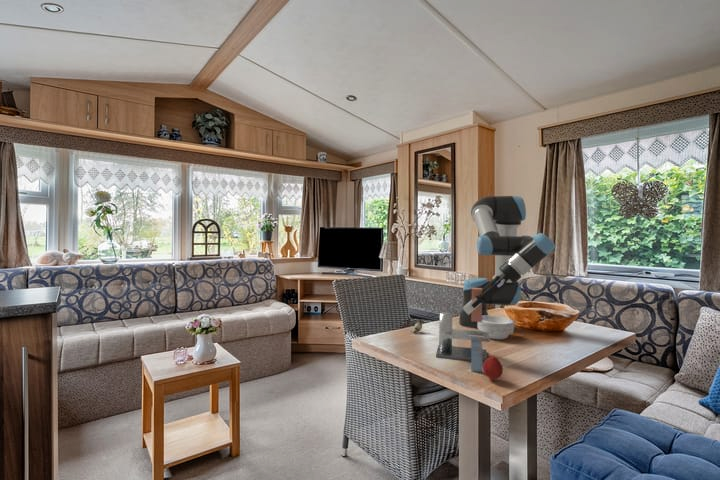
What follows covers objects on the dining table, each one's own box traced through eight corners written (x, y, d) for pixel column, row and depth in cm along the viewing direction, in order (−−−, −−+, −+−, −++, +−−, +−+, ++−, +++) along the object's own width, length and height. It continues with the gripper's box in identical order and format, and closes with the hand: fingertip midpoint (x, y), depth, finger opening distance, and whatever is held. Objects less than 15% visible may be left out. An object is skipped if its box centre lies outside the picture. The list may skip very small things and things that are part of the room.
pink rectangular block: (481, 320, 132) (481, 288, 132) (481, 322, 129) (482, 289, 129) (471, 319, 133) (471, 287, 133) (471, 321, 130) (472, 288, 130)
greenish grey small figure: (416, 330, 167) (417, 317, 166) (426, 333, 163) (427, 320, 162) (409, 332, 163) (410, 319, 162) (419, 335, 159) (420, 322, 159)
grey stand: (487, 352, 136) (488, 313, 136) (491, 373, 115) (492, 327, 115) (438, 347, 141) (439, 309, 141) (433, 366, 120) (434, 322, 120)
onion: (486, 374, 114) (486, 350, 114) (504, 379, 110) (505, 354, 110) (479, 380, 109) (480, 354, 109) (498, 385, 106) (499, 359, 105)
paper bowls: (517, 342, 149) (518, 324, 149) (480, 340, 151) (480, 322, 151) (508, 332, 164) (508, 315, 164) (474, 331, 167) (475, 314, 166)
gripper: (526, 278, 119) (473, 323, 124) (519, 274, 134) (472, 313, 139) (509, 262, 120) (458, 307, 125) (504, 259, 136) (459, 299, 141)
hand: (465, 310), depth 132 cm, fingers closed on pink rectangular block, 3 cm apart
